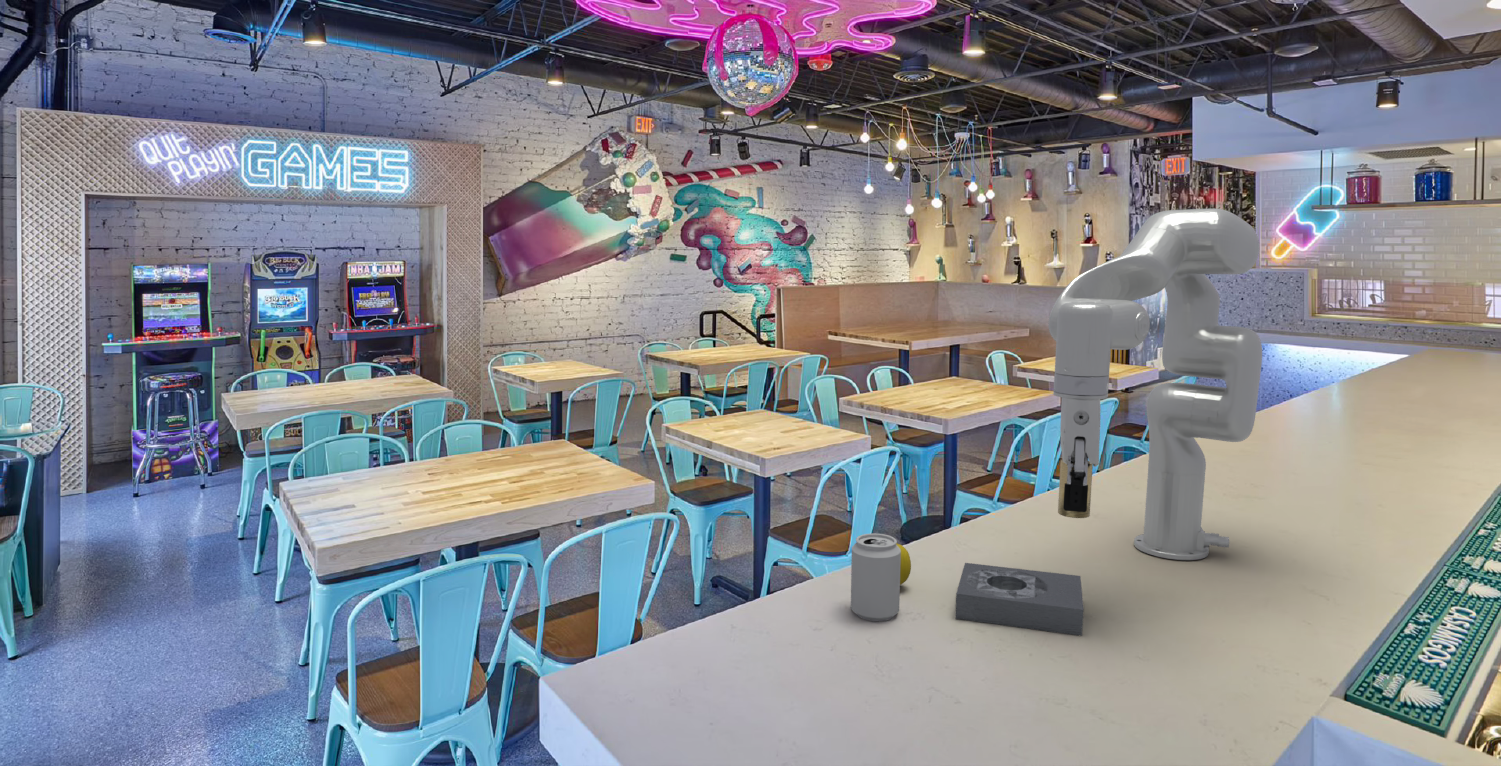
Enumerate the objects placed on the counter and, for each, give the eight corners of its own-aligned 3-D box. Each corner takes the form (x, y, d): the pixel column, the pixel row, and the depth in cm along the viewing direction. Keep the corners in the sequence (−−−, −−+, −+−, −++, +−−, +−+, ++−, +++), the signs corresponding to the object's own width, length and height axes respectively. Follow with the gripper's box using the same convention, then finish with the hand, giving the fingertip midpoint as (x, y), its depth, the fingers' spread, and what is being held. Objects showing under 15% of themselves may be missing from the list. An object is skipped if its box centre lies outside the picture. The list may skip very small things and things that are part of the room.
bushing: (1088, 510, 128) (1091, 459, 127) (1090, 519, 124) (1093, 465, 123) (1057, 508, 130) (1060, 456, 129) (1058, 516, 126) (1061, 463, 124)
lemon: (873, 582, 143) (874, 536, 142) (905, 581, 143) (906, 536, 142) (881, 595, 137) (882, 548, 136) (914, 593, 138) (915, 547, 137)
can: (864, 599, 136) (865, 527, 134) (907, 610, 131) (909, 536, 130) (841, 615, 129) (842, 540, 128) (886, 627, 125) (888, 550, 124)
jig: (1079, 599, 135) (1080, 575, 135) (1082, 635, 122) (1083, 609, 122) (964, 585, 141) (965, 562, 141) (955, 618, 128) (956, 593, 128)
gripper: (1114, 395, 115) (1105, 524, 118) (1103, 379, 131) (1096, 493, 134) (1055, 393, 117) (1048, 519, 120) (1052, 377, 133) (1046, 489, 136)
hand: (1073, 504), depth 127 cm, fingers closed on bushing, 4 cm apart
